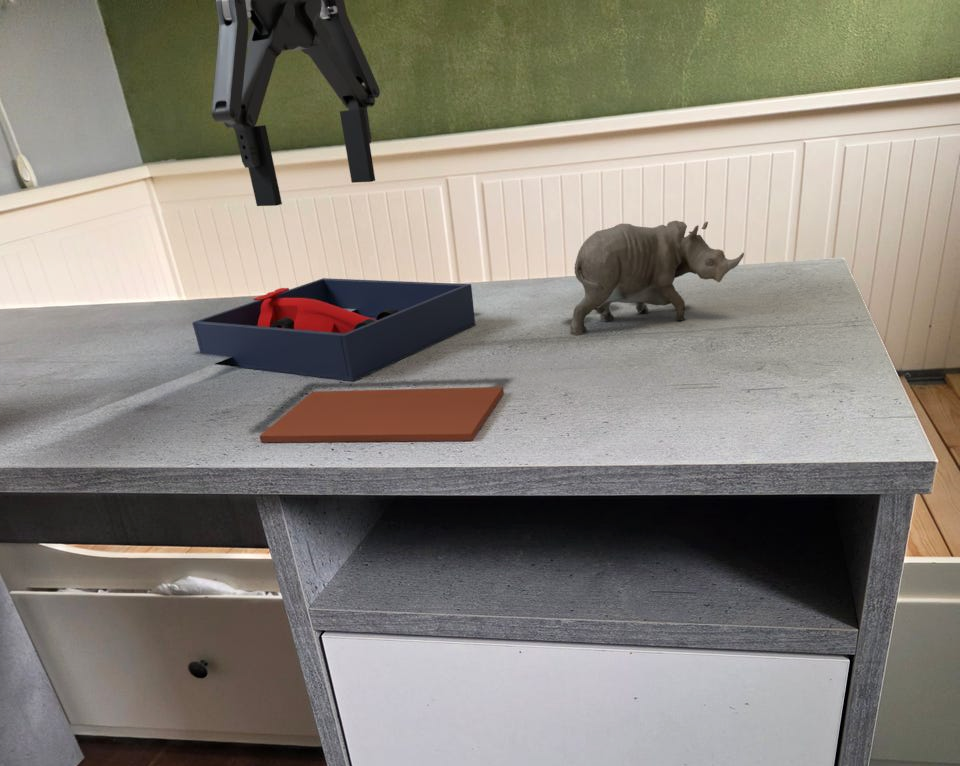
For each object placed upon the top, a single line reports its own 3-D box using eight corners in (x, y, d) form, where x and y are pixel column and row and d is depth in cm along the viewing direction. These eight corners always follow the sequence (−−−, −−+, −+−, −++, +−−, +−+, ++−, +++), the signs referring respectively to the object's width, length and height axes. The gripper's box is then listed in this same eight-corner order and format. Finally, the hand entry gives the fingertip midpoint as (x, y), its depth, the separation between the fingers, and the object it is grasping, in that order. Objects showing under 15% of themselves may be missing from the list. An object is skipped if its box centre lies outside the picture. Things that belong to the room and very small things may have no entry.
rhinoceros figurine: (537, 296, 94) (619, 159, 86) (640, 357, 98) (727, 233, 90) (543, 320, 88) (632, 175, 80) (653, 385, 92) (747, 254, 84)
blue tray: (202, 362, 95) (191, 322, 93) (330, 314, 108) (323, 278, 106) (353, 381, 83) (345, 335, 81) (475, 325, 97) (471, 283, 94)
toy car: (393, 351, 90) (385, 300, 87) (259, 346, 97) (248, 299, 95) (422, 335, 94) (416, 286, 91) (292, 331, 102) (282, 286, 99)
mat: (260, 442, 72) (258, 435, 71) (313, 397, 80) (312, 391, 80) (472, 440, 67) (471, 433, 67) (503, 393, 76) (503, 386, 75)
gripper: (181, -92, 66) (251, 216, 78) (392, -82, 82) (424, 171, 94) (122, -74, 70) (197, 216, 82) (334, -67, 86) (371, 174, 98)
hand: (318, 193), depth 88 cm, fingers open, 13 cm apart
